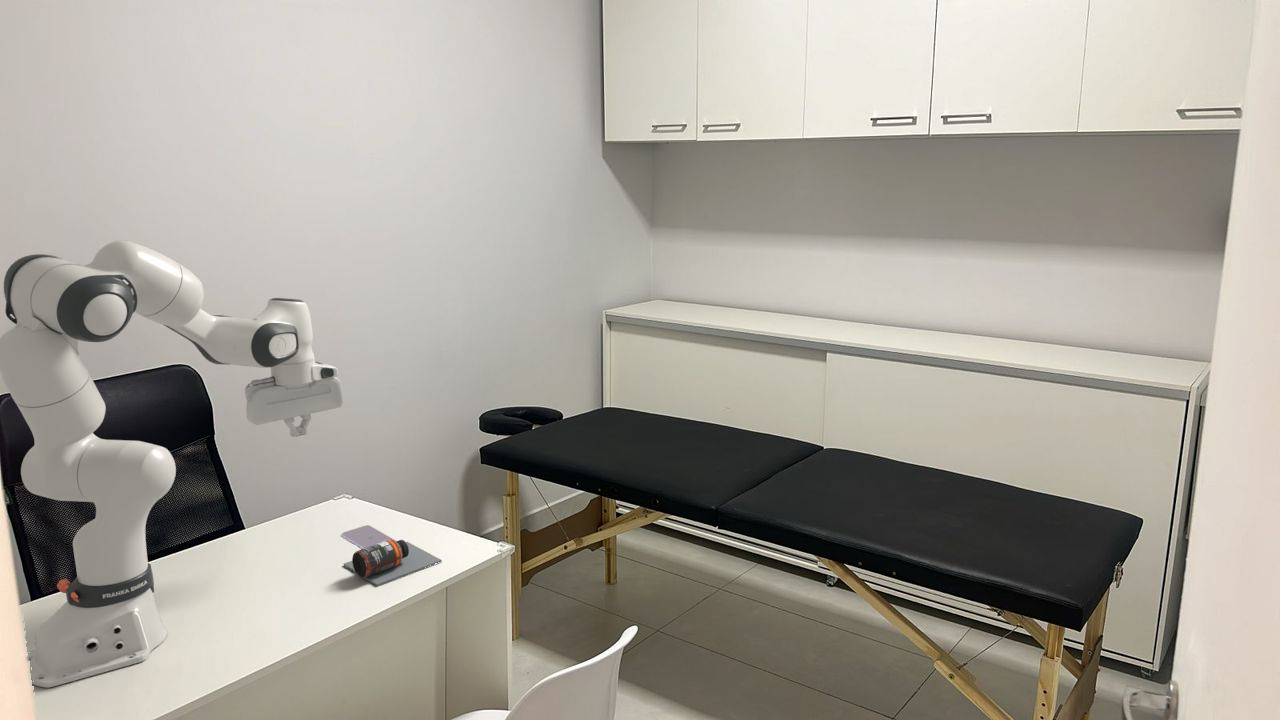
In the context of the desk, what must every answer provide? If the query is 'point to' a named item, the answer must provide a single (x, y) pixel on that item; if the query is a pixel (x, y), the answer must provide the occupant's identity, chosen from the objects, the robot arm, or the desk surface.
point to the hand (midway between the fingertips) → (298, 435)
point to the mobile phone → (365, 536)
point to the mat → (401, 566)
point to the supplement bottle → (379, 557)
